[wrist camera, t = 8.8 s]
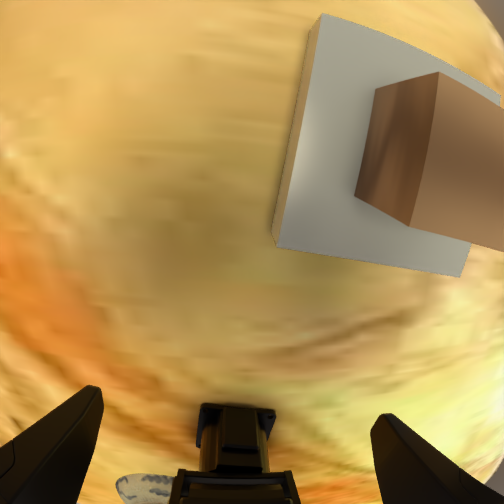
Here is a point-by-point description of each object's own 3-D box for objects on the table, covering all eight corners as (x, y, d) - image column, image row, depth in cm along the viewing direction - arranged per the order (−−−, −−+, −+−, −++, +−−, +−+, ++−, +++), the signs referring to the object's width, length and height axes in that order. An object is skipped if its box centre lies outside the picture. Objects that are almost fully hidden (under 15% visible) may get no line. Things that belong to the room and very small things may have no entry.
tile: (437, 261, 21) (459, 277, 18) (270, 231, 20) (276, 247, 17) (474, 96, 17) (500, 95, 14) (310, 29, 15) (322, 12, 13)
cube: (439, 218, 17) (504, 252, 11) (353, 196, 16) (408, 226, 10) (459, 124, 15) (531, 129, 9) (375, 88, 14) (439, 71, 9)
